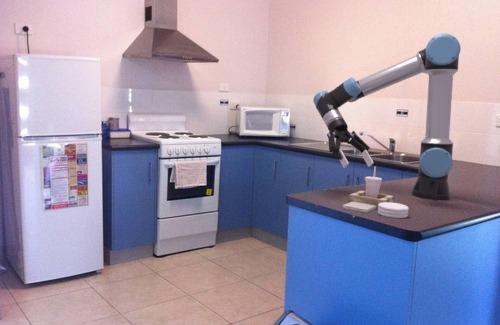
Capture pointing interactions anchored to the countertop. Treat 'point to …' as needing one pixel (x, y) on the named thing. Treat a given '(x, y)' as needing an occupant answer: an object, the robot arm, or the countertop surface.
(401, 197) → the countertop surface
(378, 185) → the smoothie
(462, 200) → the countertop surface
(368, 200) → the square wooden frame
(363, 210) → the tile
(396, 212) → the coaster
